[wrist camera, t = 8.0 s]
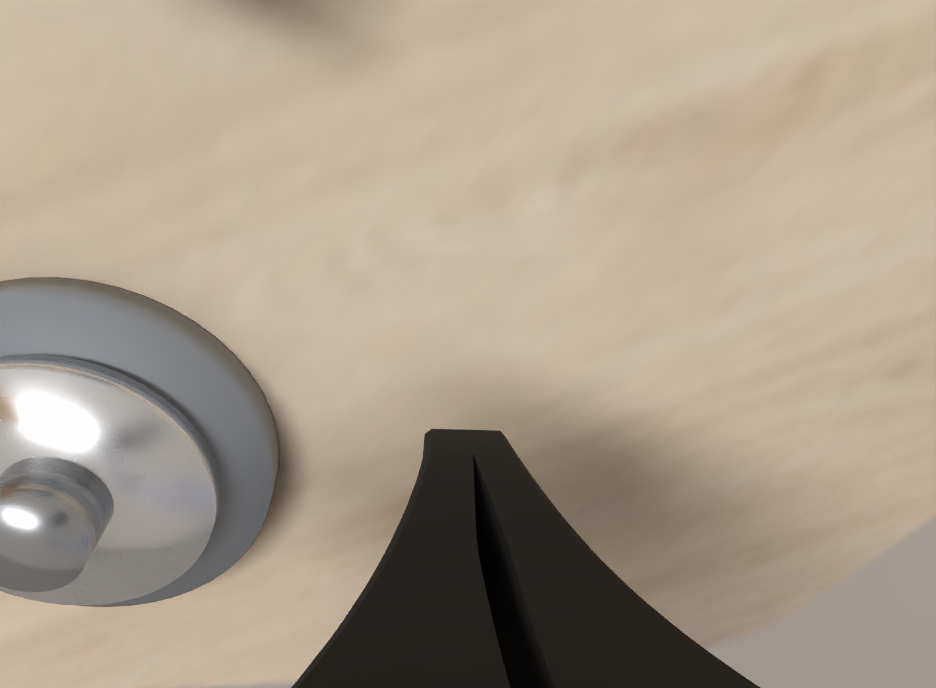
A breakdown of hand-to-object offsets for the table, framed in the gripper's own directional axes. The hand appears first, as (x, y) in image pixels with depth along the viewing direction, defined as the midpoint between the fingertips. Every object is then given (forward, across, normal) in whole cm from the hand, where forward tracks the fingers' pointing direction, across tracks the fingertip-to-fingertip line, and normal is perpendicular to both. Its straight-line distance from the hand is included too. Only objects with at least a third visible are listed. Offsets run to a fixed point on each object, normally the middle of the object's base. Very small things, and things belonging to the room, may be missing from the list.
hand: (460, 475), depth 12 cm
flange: (+7, +11, +6) cm, 15 cm away
